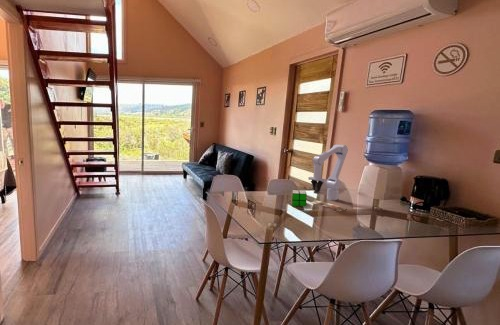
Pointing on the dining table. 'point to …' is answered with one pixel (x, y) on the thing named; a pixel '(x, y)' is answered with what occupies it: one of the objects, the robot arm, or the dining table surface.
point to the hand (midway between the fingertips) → (316, 190)
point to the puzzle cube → (298, 198)
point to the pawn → (316, 189)
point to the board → (330, 205)
